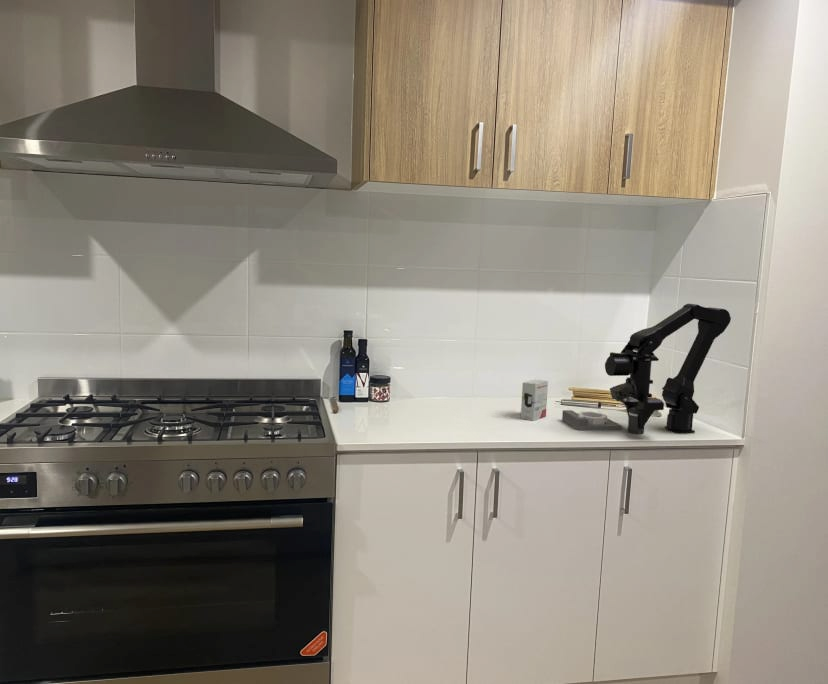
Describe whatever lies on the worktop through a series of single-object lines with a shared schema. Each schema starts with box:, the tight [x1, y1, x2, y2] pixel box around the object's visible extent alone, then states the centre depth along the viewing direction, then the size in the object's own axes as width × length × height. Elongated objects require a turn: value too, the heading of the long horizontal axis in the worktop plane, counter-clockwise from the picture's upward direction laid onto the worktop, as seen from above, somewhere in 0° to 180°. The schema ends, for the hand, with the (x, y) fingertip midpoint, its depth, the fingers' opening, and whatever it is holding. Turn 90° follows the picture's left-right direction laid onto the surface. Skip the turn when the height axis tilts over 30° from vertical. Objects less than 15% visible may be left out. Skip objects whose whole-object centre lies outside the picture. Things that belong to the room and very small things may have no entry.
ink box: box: [520, 378, 549, 422], centre depth 213 cm, size 9×5×12 cm, turn 141°
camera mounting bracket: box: [561, 409, 623, 431], centre depth 206 cm, size 14×12×4 cm
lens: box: [627, 407, 645, 435], centre depth 199 cm, size 5×5×7 cm
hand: (636, 427), depth 199 cm, fingers closed on lens, 5 cm apart
